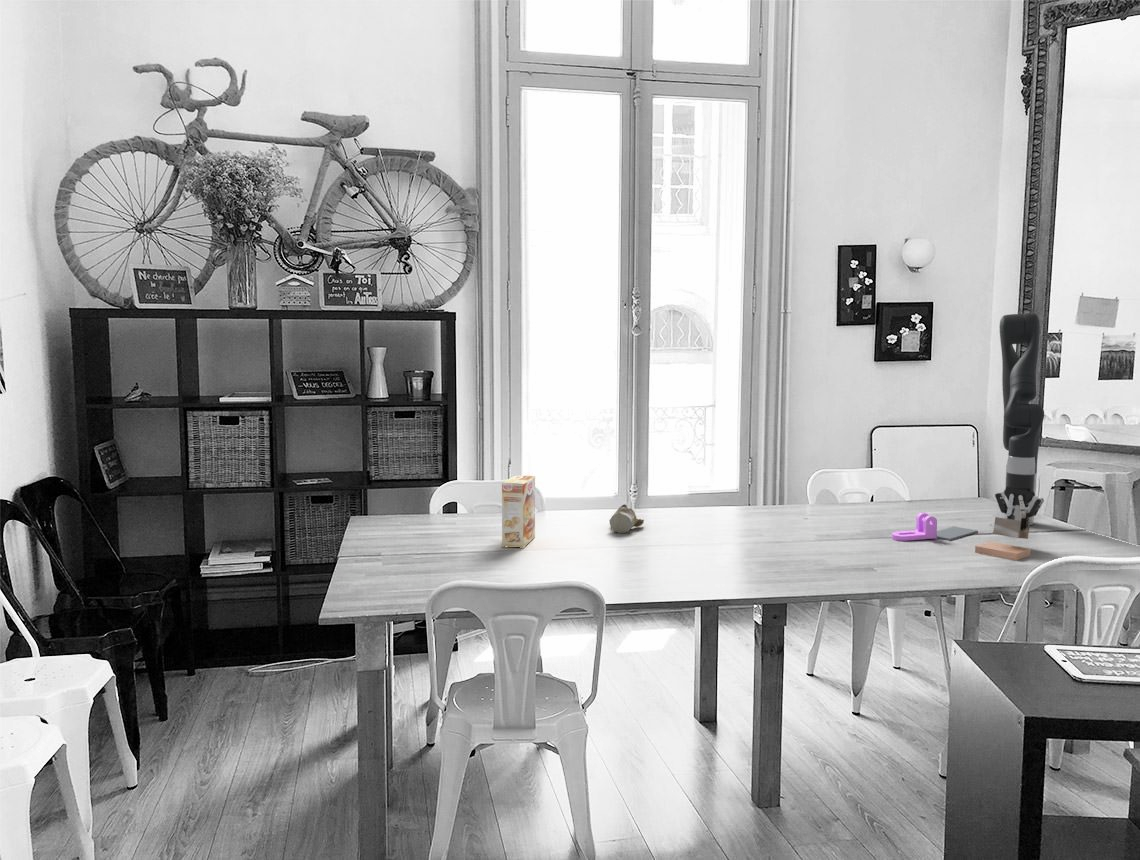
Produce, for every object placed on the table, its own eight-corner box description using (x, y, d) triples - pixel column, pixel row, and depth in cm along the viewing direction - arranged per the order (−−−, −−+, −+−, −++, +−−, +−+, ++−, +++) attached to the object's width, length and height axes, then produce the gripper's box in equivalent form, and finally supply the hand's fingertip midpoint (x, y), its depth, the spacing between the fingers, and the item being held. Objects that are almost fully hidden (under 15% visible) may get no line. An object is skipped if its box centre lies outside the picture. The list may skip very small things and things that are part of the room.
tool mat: (953, 528, 306) (954, 526, 306) (977, 532, 300) (978, 530, 300) (925, 536, 294) (925, 534, 294) (949, 540, 288) (949, 538, 288)
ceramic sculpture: (602, 506, 297) (615, 500, 311) (601, 533, 297) (614, 526, 311) (635, 508, 293) (646, 502, 308) (634, 535, 294) (645, 528, 308)
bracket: (927, 533, 295) (927, 512, 294) (936, 538, 290) (937, 516, 289) (888, 536, 293) (888, 515, 292) (897, 541, 288) (897, 519, 287)
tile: (989, 541, 280) (975, 545, 274) (1030, 548, 271) (1016, 553, 265) (989, 548, 280) (974, 553, 274) (1030, 556, 271) (1016, 561, 265)
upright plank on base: (1010, 535, 283) (1013, 519, 283) (1034, 540, 278) (1037, 523, 278) (992, 533, 275) (995, 516, 275) (1017, 538, 270) (1019, 520, 270)
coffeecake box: (524, 548, 277) (524, 483, 275) (500, 547, 278) (500, 482, 276) (536, 537, 292) (536, 475, 289) (514, 536, 293) (513, 474, 291)
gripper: (1050, 473, 272) (1047, 531, 274) (1002, 467, 283) (999, 523, 285) (1039, 475, 268) (1035, 535, 270) (990, 469, 278) (987, 527, 280)
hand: (1017, 528), depth 277 cm, fingers closed on upright plank on base, 3 cm apart
